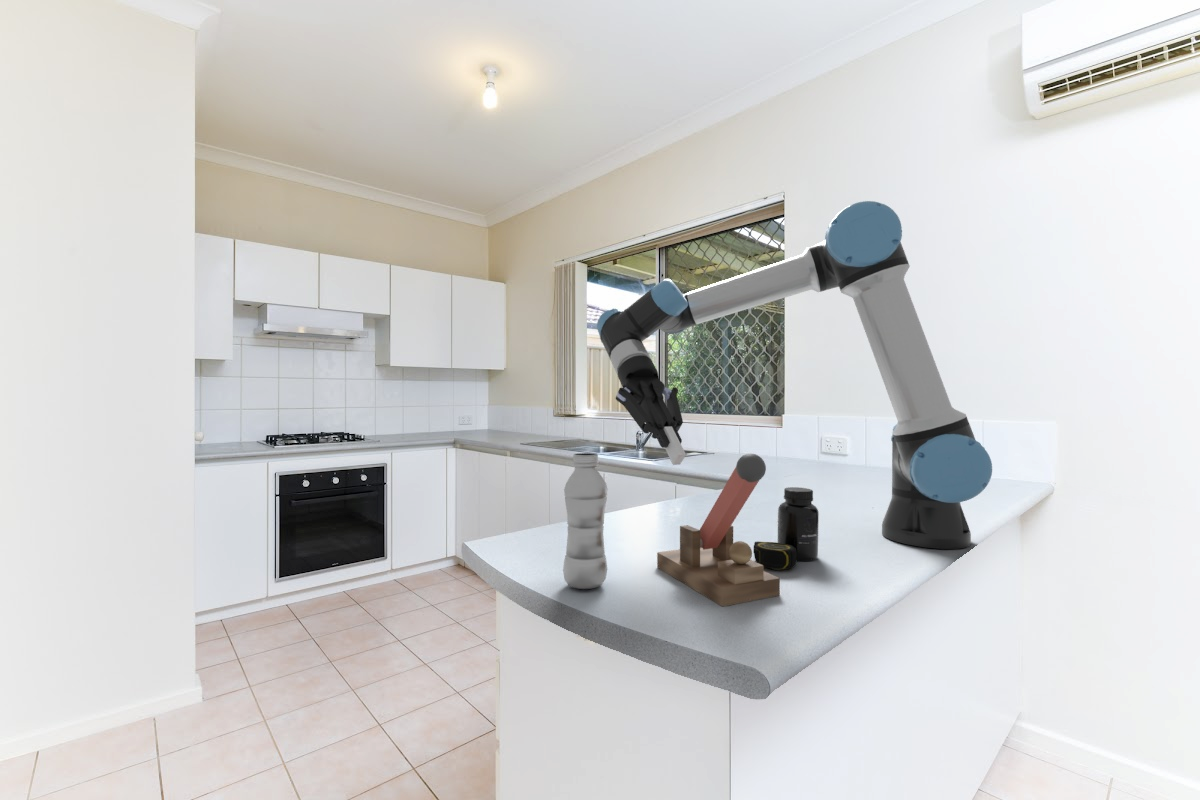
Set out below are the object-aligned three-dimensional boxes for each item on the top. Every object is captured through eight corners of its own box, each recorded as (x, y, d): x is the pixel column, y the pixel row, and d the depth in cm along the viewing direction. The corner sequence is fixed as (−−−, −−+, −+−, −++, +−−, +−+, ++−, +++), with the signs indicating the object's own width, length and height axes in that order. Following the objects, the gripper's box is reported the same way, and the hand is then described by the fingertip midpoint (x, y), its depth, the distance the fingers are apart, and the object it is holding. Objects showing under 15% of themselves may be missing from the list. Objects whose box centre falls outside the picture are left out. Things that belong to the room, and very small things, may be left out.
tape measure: (794, 562, 93) (794, 541, 93) (798, 575, 87) (798, 552, 87) (753, 559, 95) (753, 538, 95) (753, 571, 89) (753, 549, 89)
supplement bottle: (811, 564, 92) (812, 494, 91) (771, 557, 96) (772, 489, 96) (823, 555, 97) (823, 488, 97) (784, 548, 101) (785, 484, 101)
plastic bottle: (558, 581, 84) (558, 452, 83) (600, 577, 86) (600, 451, 85) (569, 596, 77) (569, 457, 77) (613, 591, 80) (613, 455, 79)
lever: (688, 535, 87) (738, 448, 75) (709, 533, 89) (761, 447, 77) (699, 556, 84) (752, 469, 72) (720, 553, 86) (776, 467, 74)
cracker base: (657, 567, 90) (657, 519, 90) (707, 559, 94) (707, 514, 94) (722, 606, 74) (722, 548, 74) (779, 595, 78) (779, 540, 78)
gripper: (656, 381, 113) (702, 470, 98) (599, 381, 108) (638, 475, 93) (669, 354, 109) (719, 443, 93) (610, 352, 103) (653, 447, 88)
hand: (679, 459), depth 93 cm, fingers closed
